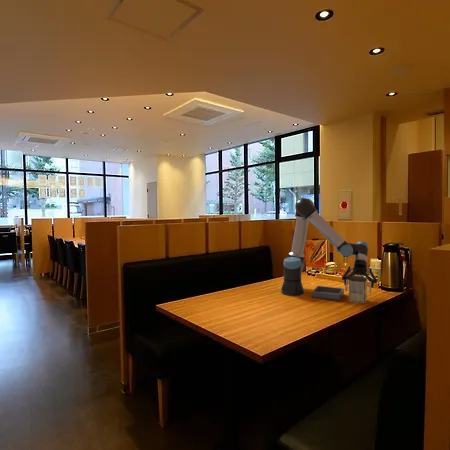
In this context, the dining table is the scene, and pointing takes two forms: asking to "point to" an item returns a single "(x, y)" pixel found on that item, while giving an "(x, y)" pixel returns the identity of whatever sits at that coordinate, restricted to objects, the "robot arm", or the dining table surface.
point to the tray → (328, 293)
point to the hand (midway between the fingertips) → (357, 290)
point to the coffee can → (357, 289)
